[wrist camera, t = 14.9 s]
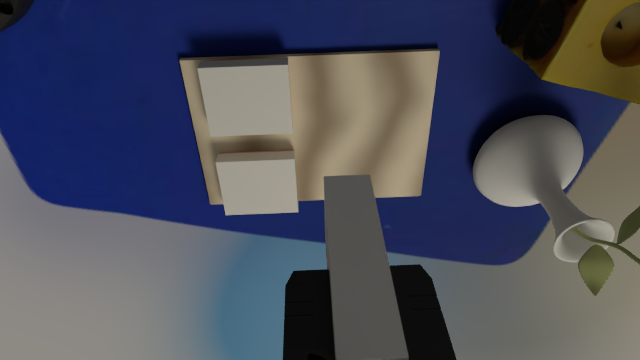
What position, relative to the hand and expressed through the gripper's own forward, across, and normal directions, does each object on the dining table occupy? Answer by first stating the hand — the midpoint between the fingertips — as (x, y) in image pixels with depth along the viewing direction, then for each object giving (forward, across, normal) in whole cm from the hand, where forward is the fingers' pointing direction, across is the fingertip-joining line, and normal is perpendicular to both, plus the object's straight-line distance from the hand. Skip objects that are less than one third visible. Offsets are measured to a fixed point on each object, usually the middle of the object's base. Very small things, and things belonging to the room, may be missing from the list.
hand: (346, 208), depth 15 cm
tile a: (+28, -3, -9) cm, 29 cm away
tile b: (+28, -3, -19) cm, 34 cm away
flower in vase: (+30, +22, -17) cm, 41 cm away
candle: (+30, +22, -1) cm, 37 cm away
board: (+29, -1, -14) cm, 33 cm away
